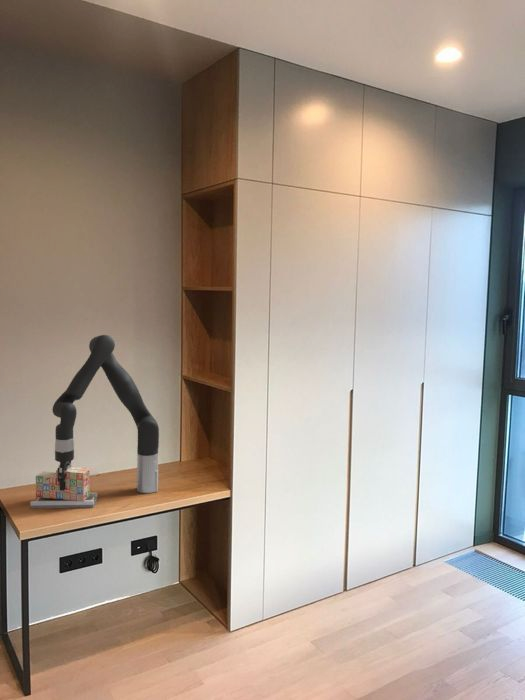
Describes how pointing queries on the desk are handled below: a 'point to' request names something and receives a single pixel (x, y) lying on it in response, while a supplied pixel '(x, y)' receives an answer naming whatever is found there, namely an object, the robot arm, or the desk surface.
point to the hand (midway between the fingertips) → (64, 486)
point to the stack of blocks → (74, 485)
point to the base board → (63, 502)
